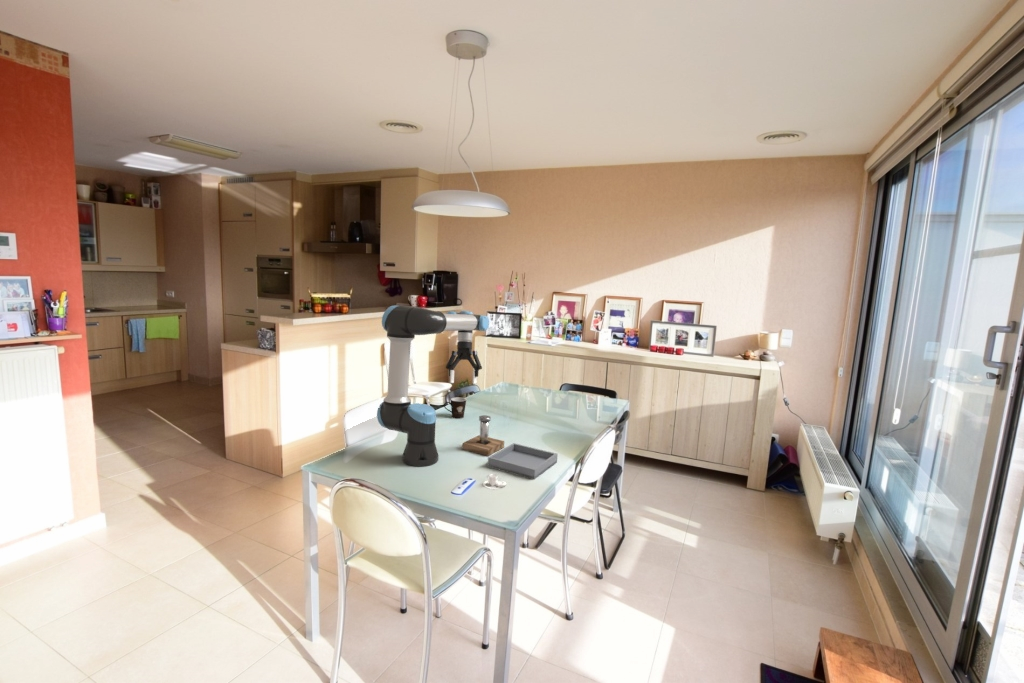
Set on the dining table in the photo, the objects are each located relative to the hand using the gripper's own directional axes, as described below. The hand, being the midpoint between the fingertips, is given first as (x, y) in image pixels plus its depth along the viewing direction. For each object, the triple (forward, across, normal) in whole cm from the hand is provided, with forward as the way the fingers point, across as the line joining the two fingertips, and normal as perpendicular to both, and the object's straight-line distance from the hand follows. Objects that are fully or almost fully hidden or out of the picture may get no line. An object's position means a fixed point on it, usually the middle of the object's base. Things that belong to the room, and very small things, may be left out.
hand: (463, 383), depth 254 cm
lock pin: (+30, -20, +12) cm, 38 cm away
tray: (+34, -44, +18) cm, 58 cm away
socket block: (+30, -20, +12) cm, 38 cm away
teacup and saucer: (+41, -44, +44) cm, 75 cm away
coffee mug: (+18, +17, -20) cm, 32 cm away
